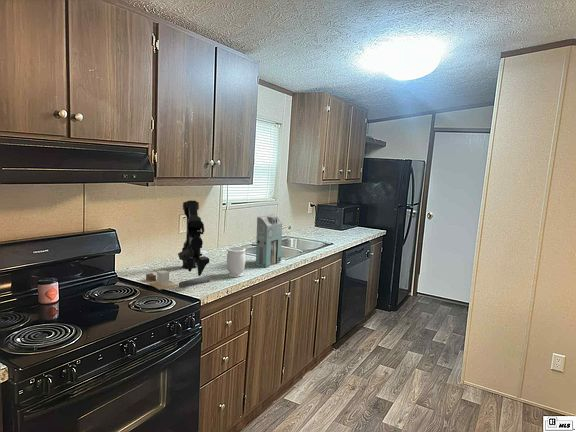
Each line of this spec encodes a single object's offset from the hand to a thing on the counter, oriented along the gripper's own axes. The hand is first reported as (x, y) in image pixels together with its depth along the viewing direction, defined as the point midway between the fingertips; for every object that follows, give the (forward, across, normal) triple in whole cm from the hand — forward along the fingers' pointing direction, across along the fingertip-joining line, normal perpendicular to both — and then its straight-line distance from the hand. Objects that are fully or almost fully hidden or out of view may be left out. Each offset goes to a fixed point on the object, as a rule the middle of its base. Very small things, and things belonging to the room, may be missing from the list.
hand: (194, 273), depth 206 cm
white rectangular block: (+4, -7, -14) cm, 16 cm away
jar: (+5, +2, +25) cm, 26 cm away
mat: (+5, -7, -14) cm, 16 cm away
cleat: (+5, -17, -15) cm, 24 cm away
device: (+6, -5, +55) cm, 56 cm away
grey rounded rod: (+5, +2, -1) cm, 6 cm away
